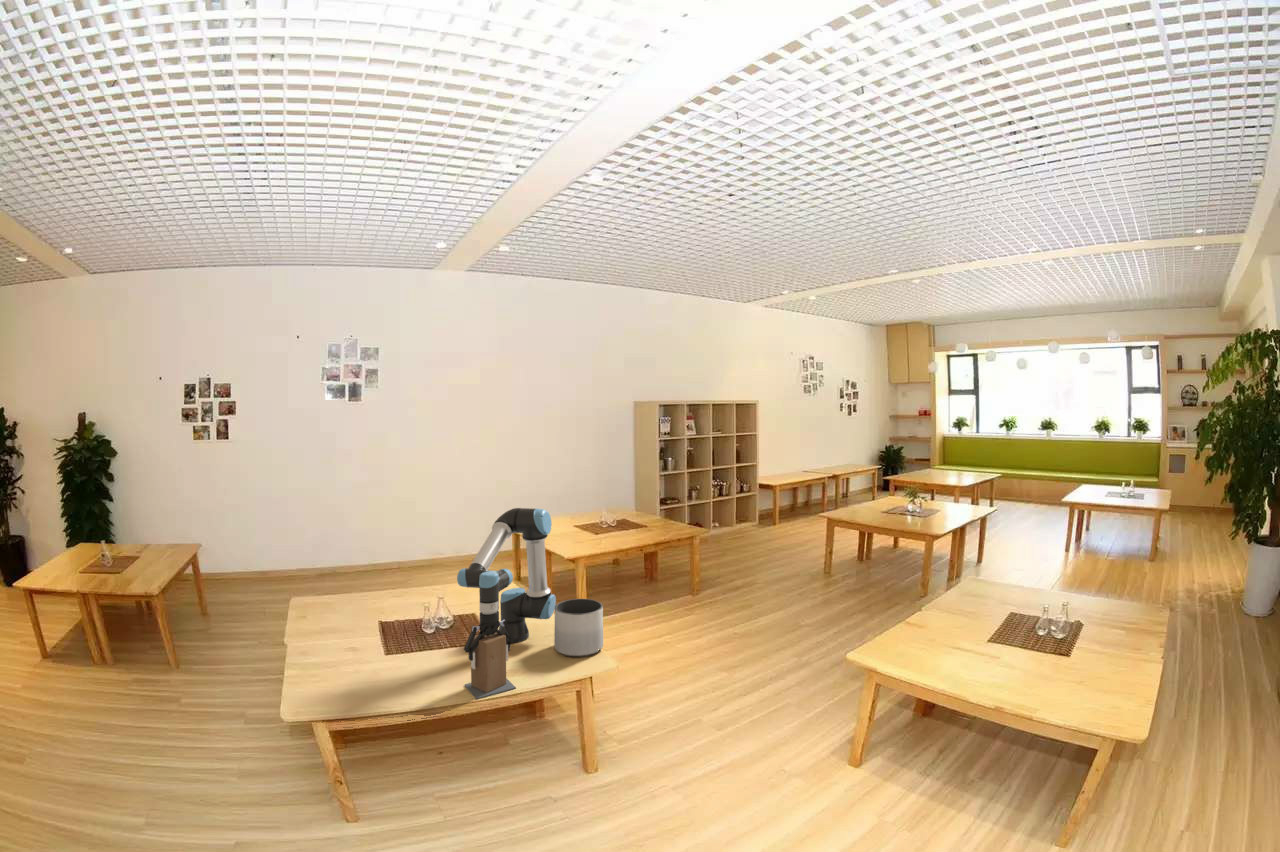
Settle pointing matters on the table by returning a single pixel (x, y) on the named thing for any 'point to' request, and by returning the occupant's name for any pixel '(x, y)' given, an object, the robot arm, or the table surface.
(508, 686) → the mat
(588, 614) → the planter
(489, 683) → the wooden block
